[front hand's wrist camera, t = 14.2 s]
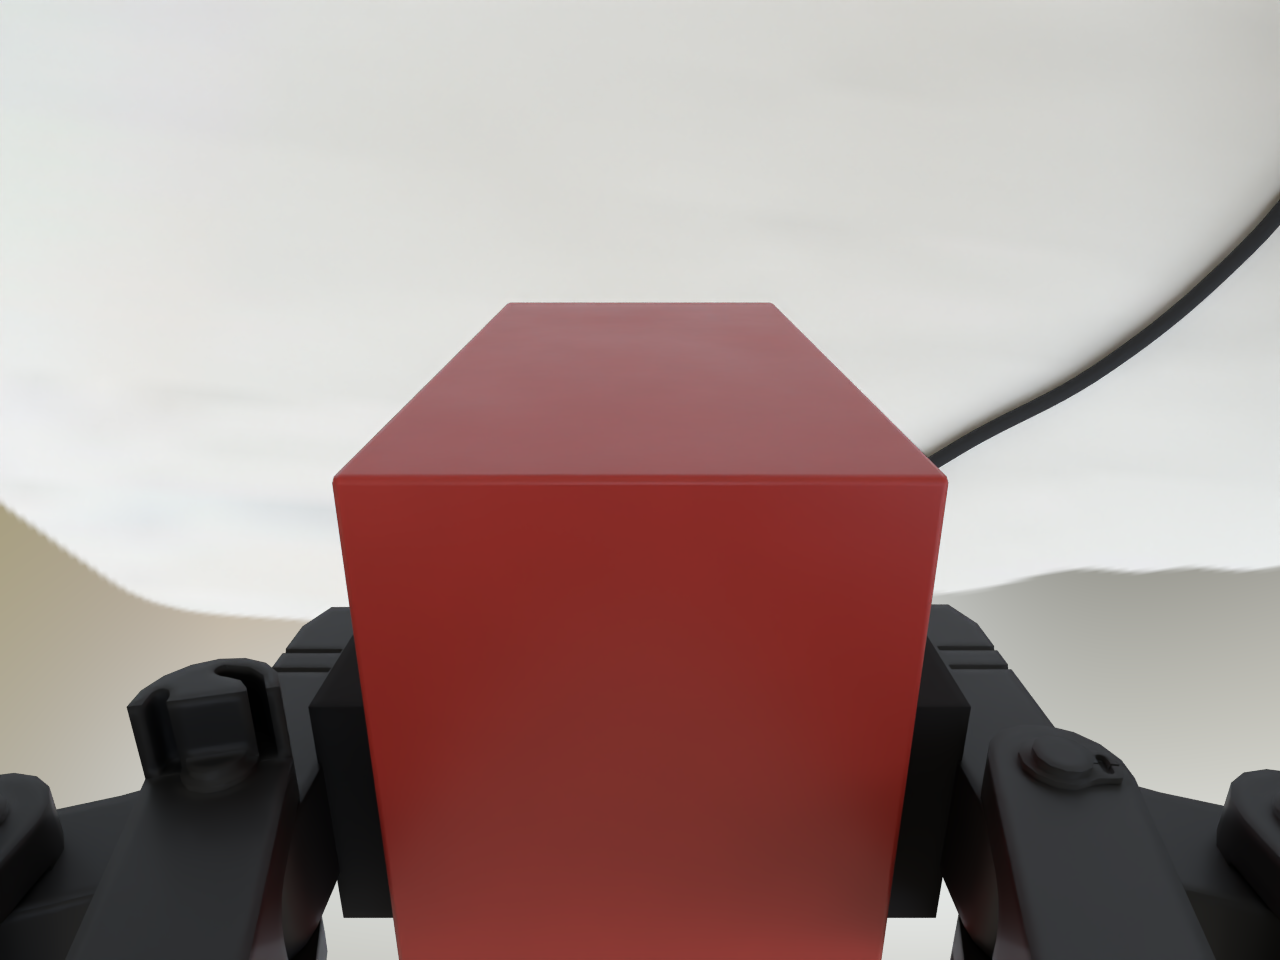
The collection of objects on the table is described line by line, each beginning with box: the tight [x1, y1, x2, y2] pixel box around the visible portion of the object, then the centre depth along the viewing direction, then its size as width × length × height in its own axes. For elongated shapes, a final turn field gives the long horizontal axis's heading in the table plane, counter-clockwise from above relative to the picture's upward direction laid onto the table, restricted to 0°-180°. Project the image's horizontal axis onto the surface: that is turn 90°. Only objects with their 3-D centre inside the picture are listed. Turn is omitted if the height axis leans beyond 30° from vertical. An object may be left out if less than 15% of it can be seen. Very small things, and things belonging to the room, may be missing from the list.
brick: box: [332, 303, 948, 960], centre depth 12 cm, size 5×8×9 cm, turn 0°
